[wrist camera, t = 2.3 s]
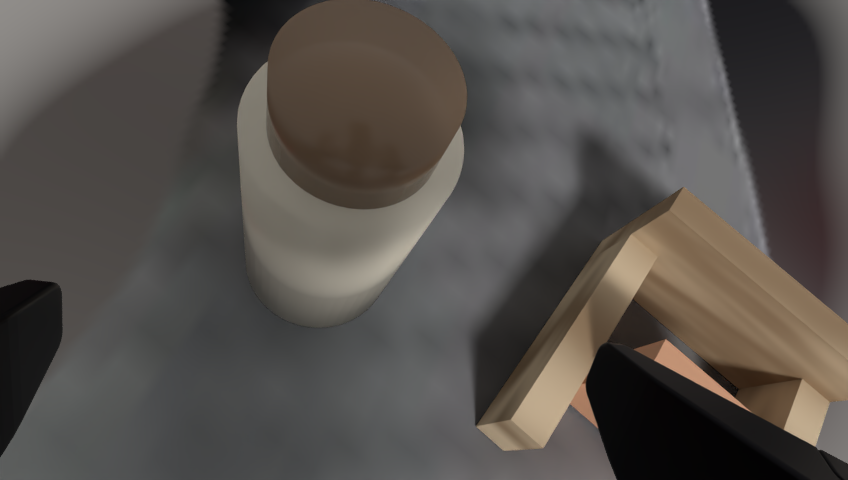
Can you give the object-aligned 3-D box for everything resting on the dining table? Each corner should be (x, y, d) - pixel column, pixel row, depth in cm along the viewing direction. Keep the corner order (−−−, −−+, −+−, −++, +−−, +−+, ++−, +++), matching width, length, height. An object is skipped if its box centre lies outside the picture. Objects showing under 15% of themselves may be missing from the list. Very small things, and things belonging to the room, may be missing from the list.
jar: (324, 358, 22) (388, 251, 11) (213, 260, 22) (169, 60, 11) (415, 257, 25) (538, 91, 14) (315, 170, 25) (359, -60, 14)
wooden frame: (684, 609, 22) (820, 655, 17) (475, 426, 22) (543, 413, 17) (772, 385, 27) (897, 365, 22) (601, 240, 28) (683, 186, 22)
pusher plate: (684, 503, 23) (825, 515, 18) (555, 391, 24) (651, 366, 18) (695, 479, 24) (834, 483, 18) (568, 369, 24) (665, 338, 18)
